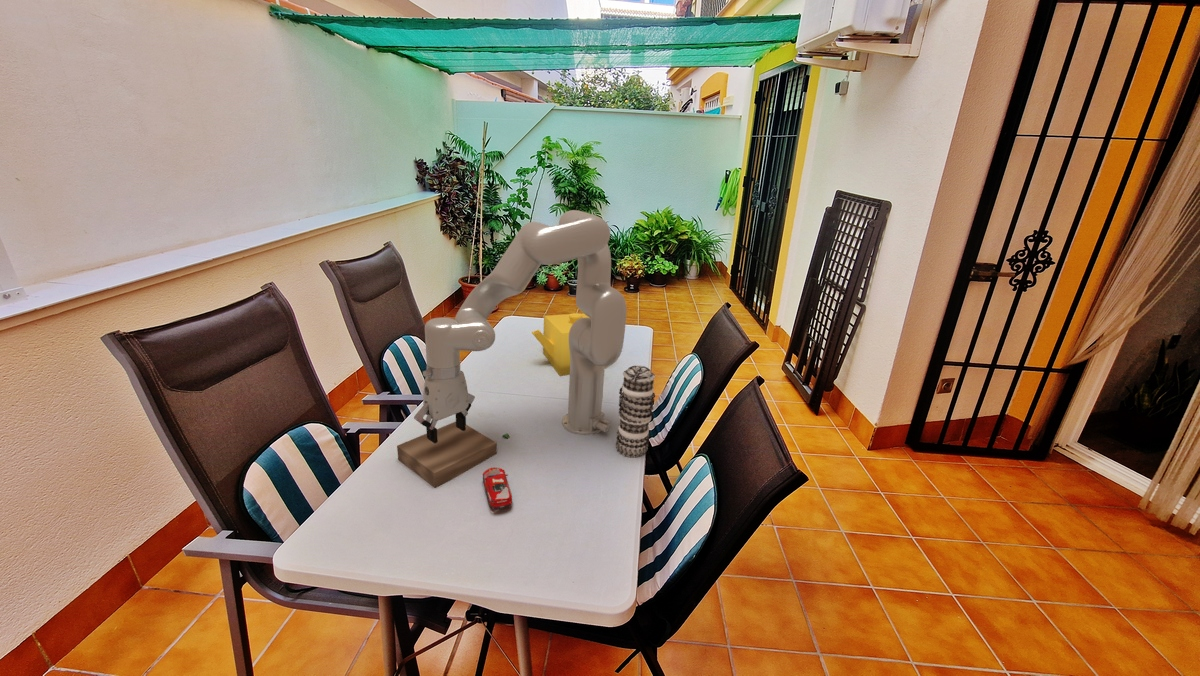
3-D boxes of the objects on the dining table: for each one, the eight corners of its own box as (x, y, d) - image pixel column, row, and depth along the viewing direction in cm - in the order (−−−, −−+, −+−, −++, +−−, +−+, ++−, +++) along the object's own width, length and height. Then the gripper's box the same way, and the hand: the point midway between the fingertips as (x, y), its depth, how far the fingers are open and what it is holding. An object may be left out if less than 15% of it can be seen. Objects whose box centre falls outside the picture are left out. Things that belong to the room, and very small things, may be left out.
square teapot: (519, 356, 189) (520, 303, 182) (591, 349, 201) (594, 299, 194) (546, 396, 159) (548, 335, 152) (628, 386, 171) (634, 328, 164)
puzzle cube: (502, 438, 135) (502, 431, 134) (510, 442, 134) (509, 434, 133) (491, 445, 132) (491, 437, 131) (498, 449, 130) (498, 441, 129)
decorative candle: (620, 467, 125) (628, 378, 117) (609, 447, 134) (616, 363, 125) (653, 463, 128) (663, 376, 119) (640, 444, 136) (649, 361, 128)
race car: (481, 476, 117) (480, 462, 116) (504, 472, 119) (504, 458, 117) (488, 513, 106) (488, 499, 104) (514, 509, 108) (513, 494, 106)
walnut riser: (496, 456, 126) (496, 442, 125) (435, 487, 113) (434, 473, 112) (459, 432, 136) (458, 420, 134) (398, 459, 122) (397, 445, 121)
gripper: (419, 385, 107) (424, 455, 113) (483, 364, 120) (484, 427, 126) (401, 375, 112) (406, 442, 118) (465, 355, 125) (467, 417, 131)
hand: (447, 434), depth 122 cm, fingers open, 7 cm apart
